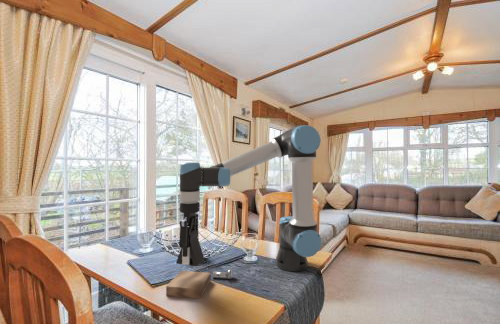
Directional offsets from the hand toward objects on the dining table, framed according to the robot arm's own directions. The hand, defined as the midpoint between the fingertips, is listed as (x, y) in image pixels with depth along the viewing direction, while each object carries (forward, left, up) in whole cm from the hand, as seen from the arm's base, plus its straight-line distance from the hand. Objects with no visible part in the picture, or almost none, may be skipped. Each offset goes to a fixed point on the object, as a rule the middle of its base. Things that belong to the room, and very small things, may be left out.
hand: (189, 260), depth 98 cm
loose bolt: (-10, -10, -11) cm, 18 cm away
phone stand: (-1, 0, -1) cm, 1 cm away
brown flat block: (0, 0, -11) cm, 11 cm away
